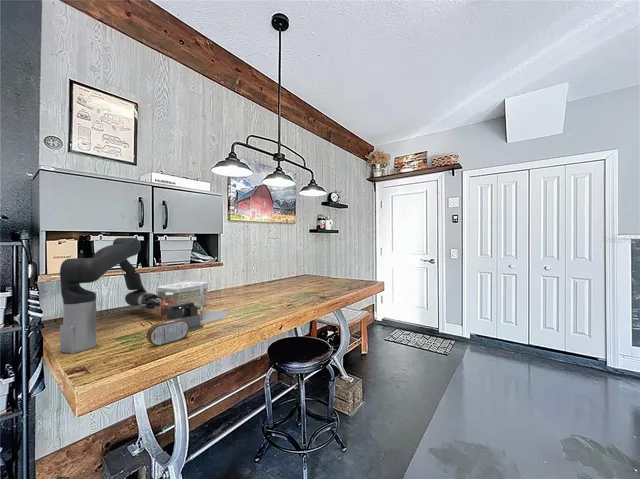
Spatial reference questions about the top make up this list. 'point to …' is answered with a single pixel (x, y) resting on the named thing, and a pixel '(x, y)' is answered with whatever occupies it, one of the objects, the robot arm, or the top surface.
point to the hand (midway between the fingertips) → (163, 305)
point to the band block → (190, 315)
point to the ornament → (210, 313)
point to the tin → (167, 332)
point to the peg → (167, 304)
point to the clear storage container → (184, 292)
